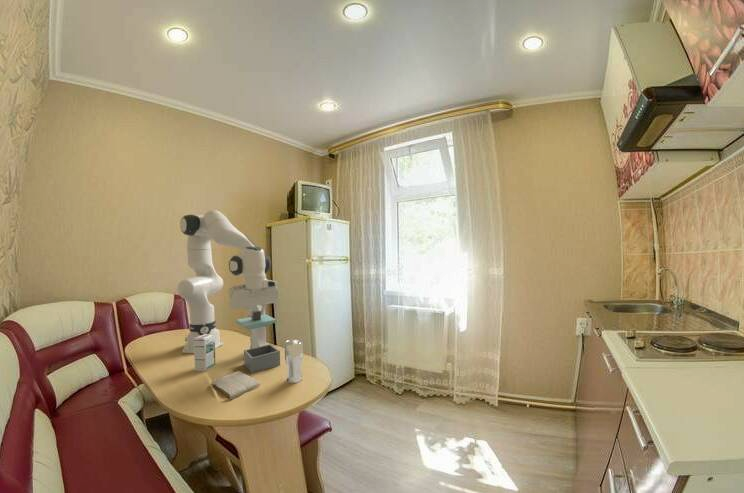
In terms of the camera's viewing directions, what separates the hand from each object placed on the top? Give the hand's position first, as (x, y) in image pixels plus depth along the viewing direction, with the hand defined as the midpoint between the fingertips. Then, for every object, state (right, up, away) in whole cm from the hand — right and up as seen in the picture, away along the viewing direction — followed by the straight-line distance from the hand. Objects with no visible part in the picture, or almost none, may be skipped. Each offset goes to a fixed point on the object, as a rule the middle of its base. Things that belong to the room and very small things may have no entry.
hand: (256, 315), depth 121 cm
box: (+1, -23, +4) cm, 24 cm away
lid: (0, -4, 0) cm, 4 cm away
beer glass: (+19, -23, -10) cm, 32 cm away
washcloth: (-2, -24, -14) cm, 28 cm away
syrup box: (-24, -24, +3) cm, 34 cm away
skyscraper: (-6, -24, +17) cm, 30 cm away
